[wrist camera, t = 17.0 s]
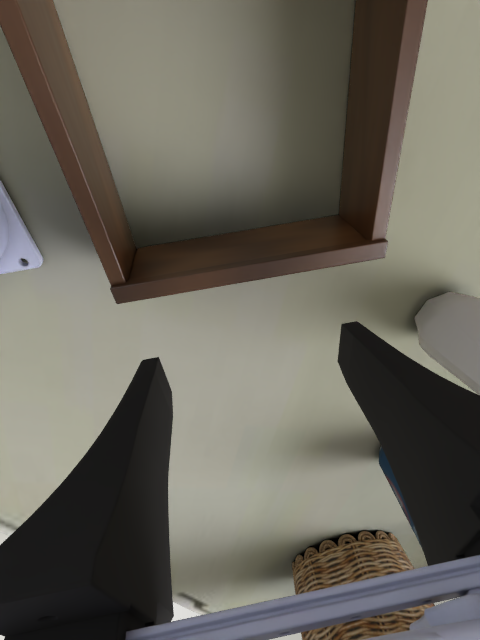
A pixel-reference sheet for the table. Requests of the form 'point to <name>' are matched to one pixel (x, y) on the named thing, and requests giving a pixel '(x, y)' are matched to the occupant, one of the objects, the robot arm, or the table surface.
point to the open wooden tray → (249, 245)
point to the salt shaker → (452, 335)
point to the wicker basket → (350, 567)
